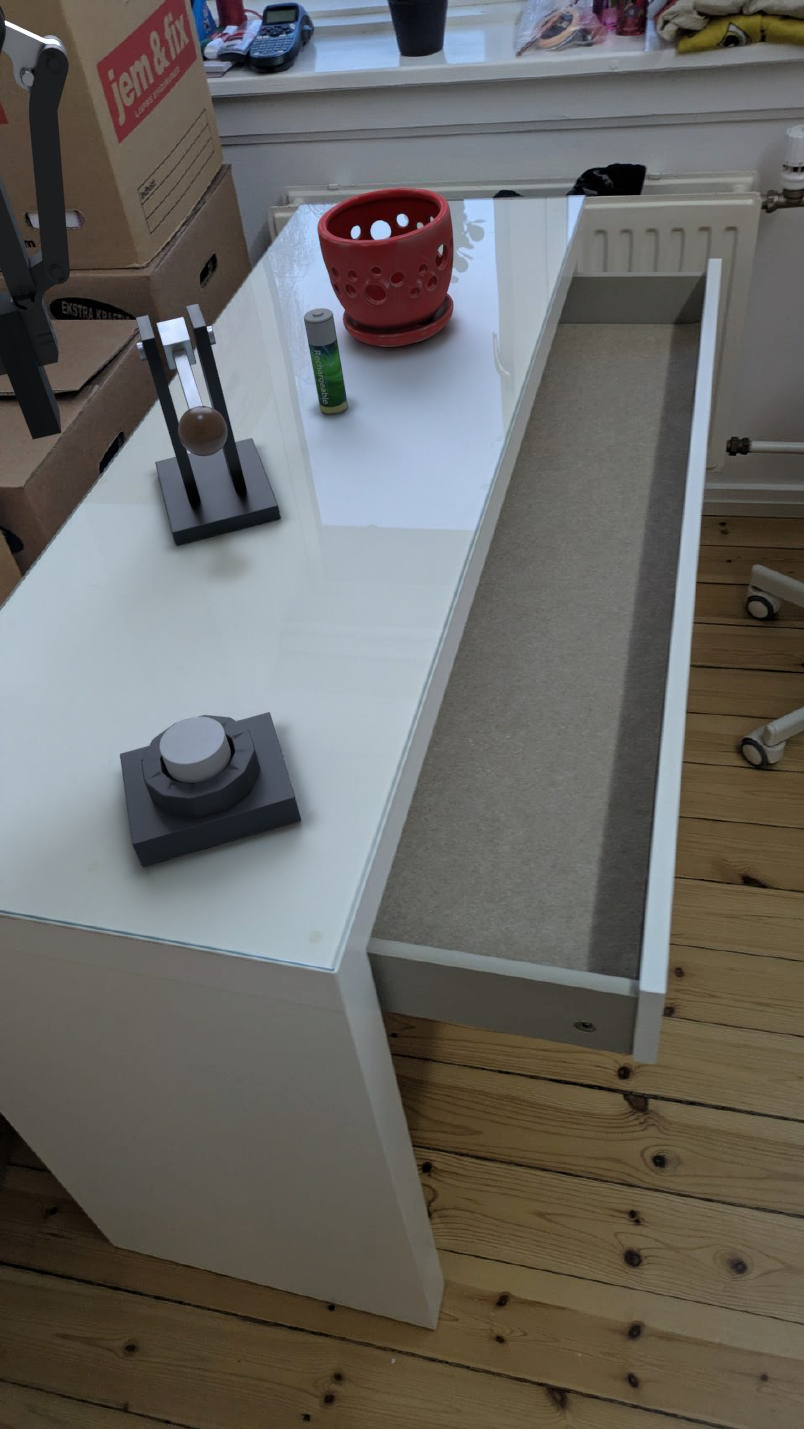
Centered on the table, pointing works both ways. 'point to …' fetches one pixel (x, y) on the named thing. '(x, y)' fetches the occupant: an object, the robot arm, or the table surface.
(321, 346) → the battery
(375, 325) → the flower pot
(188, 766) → the flush button
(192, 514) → the lever bracket
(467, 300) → the table surface
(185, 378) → the flush lever
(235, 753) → the button housing
